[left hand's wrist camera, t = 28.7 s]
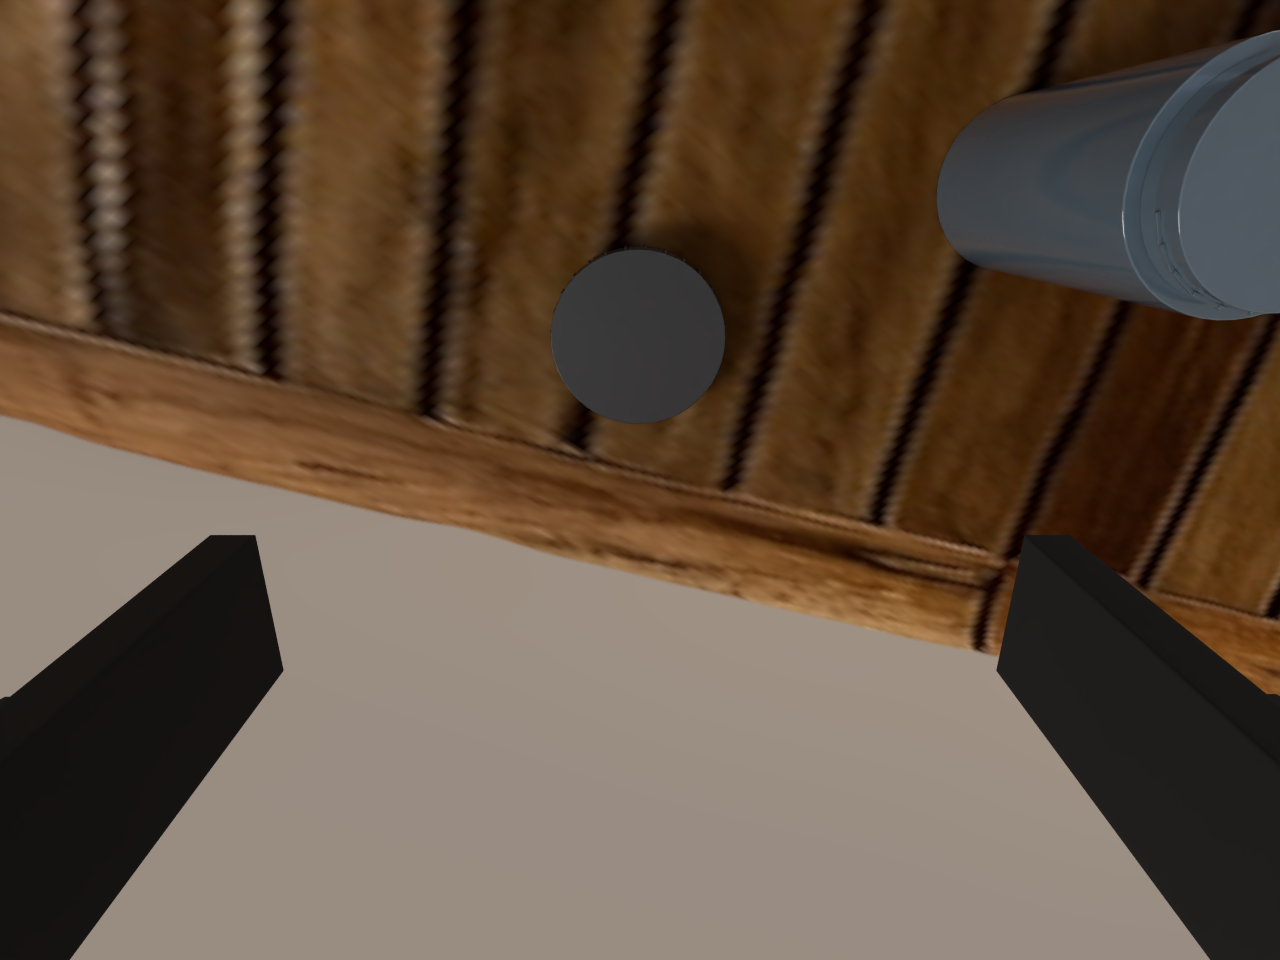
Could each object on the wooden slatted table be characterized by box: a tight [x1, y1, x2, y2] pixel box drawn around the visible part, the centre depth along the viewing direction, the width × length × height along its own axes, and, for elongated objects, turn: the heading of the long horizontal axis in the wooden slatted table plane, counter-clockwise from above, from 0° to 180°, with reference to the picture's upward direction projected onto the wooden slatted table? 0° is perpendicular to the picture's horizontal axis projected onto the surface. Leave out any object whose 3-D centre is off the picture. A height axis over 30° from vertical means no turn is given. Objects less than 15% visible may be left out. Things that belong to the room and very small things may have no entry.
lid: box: [550, 245, 726, 424], centre depth 38 cm, size 9×9×2 cm
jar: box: [937, 30, 1280, 320], centre depth 28 cm, size 8×8×17 cm
